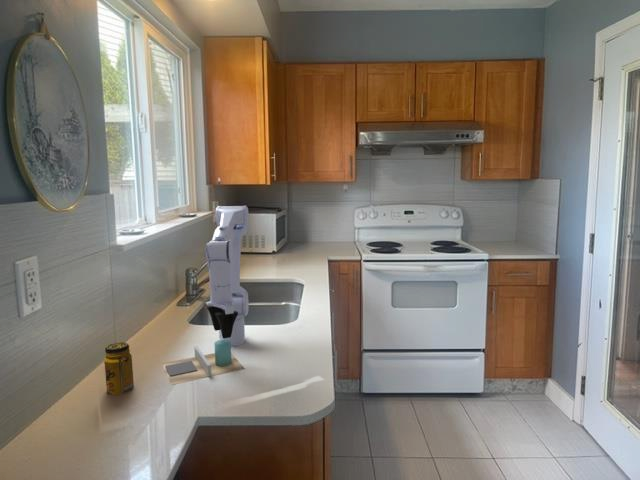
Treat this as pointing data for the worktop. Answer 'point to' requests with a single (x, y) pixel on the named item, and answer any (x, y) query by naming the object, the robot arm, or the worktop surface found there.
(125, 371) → the condiment
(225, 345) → the peg
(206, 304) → the robot arm
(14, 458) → the worktop surface
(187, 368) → the pad
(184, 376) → the board
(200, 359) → the fence
